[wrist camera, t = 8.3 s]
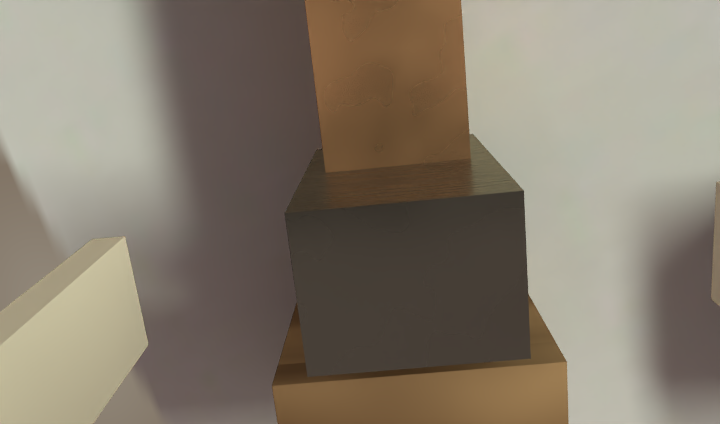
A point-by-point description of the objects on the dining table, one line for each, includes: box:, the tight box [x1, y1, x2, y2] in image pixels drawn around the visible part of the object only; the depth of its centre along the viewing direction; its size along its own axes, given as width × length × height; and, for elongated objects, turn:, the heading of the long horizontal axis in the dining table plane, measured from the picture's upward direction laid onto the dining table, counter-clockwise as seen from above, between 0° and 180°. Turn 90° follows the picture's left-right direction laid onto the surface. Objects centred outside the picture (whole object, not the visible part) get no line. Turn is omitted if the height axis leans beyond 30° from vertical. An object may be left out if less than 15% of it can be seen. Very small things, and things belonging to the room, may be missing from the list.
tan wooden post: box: [285, 0, 531, 377], centre depth 18 cm, size 20×5×8 cm, turn 6°
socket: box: [272, 294, 568, 424], centre depth 23 cm, size 5×8×8 cm, turn 96°
